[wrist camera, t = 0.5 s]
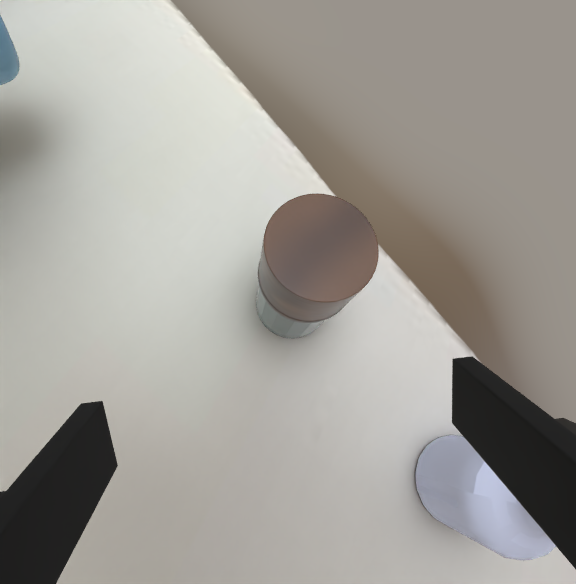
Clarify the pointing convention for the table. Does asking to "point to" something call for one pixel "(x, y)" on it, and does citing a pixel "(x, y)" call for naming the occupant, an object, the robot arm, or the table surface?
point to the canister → (281, 321)
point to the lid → (315, 257)
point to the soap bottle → (476, 500)
